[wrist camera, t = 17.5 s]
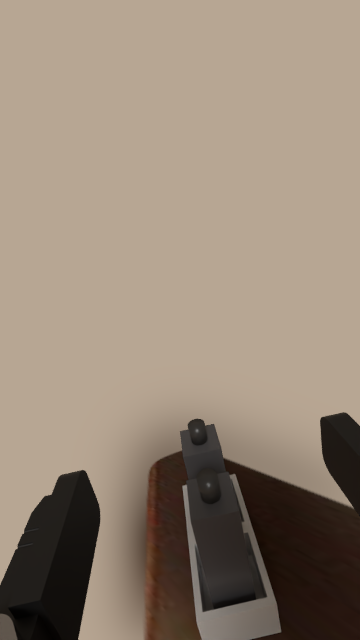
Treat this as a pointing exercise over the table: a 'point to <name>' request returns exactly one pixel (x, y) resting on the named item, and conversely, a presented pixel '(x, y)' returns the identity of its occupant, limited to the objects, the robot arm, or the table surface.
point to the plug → (220, 538)
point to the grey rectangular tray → (241, 619)
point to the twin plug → (201, 448)
